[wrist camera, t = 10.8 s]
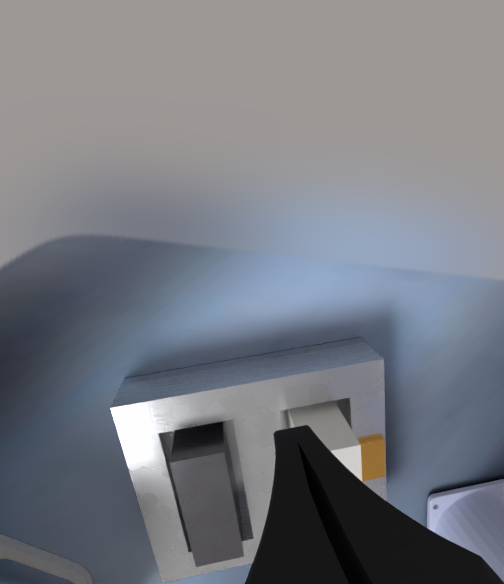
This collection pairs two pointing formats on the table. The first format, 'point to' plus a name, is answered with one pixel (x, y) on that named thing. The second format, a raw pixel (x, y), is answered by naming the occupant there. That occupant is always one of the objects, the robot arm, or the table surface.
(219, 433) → the rack
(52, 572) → the network device
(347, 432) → the rectangular block
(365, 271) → the table surface
